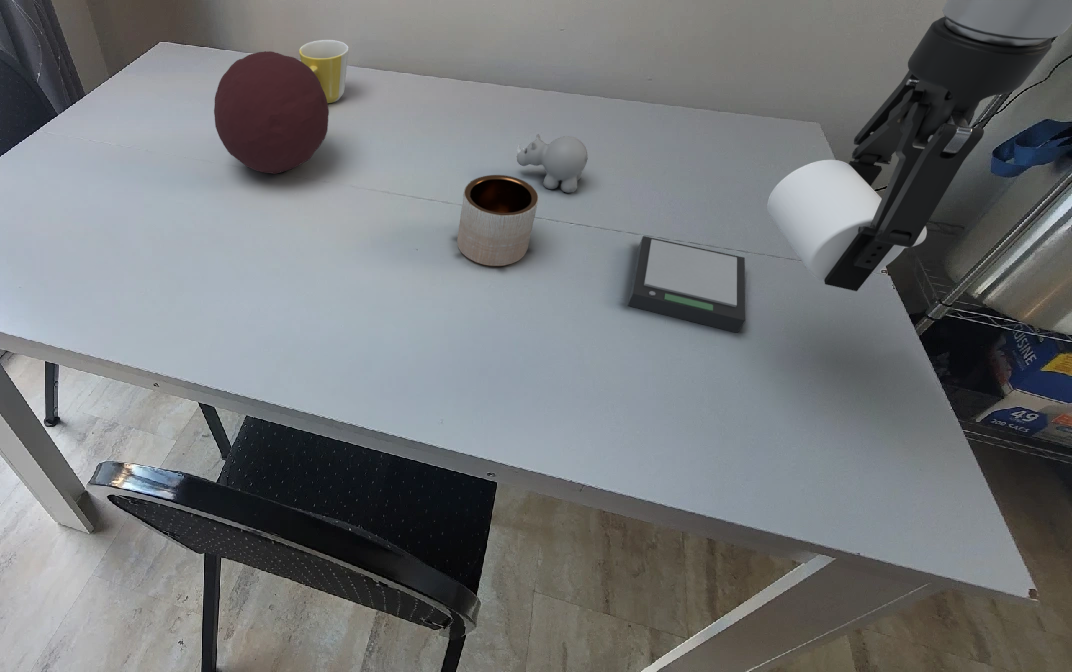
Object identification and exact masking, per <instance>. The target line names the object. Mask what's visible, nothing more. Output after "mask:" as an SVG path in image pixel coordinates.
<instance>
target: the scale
mask: <svg viewBox="0 0 1072 672" xmlns="http://www.w3.org/2000/svg"><path fill="white" fill-rule="evenodd" d="M634 262H635V263H634V268H633V274H632V280H631V285H630V291H629V296H628V301H627V306H628V307H632V308H635V309H639V310H643V311H647V312H652V313H656V314H658V315H659V314H660V315H664V316H668V317H671V318H676V319H680V320H684V321H688V322H691V323H696V324H700V325H704V326H707V327H712V328H715V329H720V330H723V331H728V332H732V333H736V334H737V333H739V332H740V330H741V329H742V327H743V325H744V324H745V322H746V258H745V257H743V256H739V255H735V254H730V253H725V252H720V251H716V250H711V249H706V248H701V247H697V246H694V245H693V246H692V245H688V244H684V243H683V244H682V243H678V242H674V241H669V240H665V239H660V238H656V237H650V236H646V235H643V236H642V237H641V240H640V242H639V245H638V248H637V252H636V258H635V261H634Z"/></svg>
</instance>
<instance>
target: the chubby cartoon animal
mask: <svg viewBox="0 0 1072 672" xmlns="http://www.w3.org/2000/svg"><path fill="white" fill-rule="evenodd" d="M588 155H589V154H588V149H587V146H586V145H585V144H584V142H583V141H582V140H580V139H579V138H577V137H575V136H571V135H564V136H559V137H557V138H555V139H554V140H552V141H551V142H550V143H548V144H547V143H546V142H544V141H543V140H541V136H540V134H539V133H538V134H536V138H535V140H533V141H531V142H530V143H529V144H528V145H527V146H526V148H525V147H522V148H521V144H520V143H519V144H518V145H517V147H516V162H517V163H518V165H520V166H522V167H526V166H529V165H531V166H535V167H538V166H542V167H543V169H544V170H545V172H546V175H545V177H544V179H543V181H542V182H543V183H542V184H543V186H544V187H545V188H546V189H548V190H554V189H557V188H558V187H559V185H560V189H561V191H562V192H565V193H567V194H569V193H574V192H576V190H577V189H578V181H580V180H581V178H582V174H583V171H584V169H585V168H586V166H587V162H588V160H589V156H588ZM560 183H561V184H560Z"/></svg>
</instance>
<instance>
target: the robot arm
mask: <svg viewBox="0 0 1072 672" xmlns="http://www.w3.org/2000/svg"><path fill="white" fill-rule="evenodd" d="M941 11H942V13H943V15H944V16H942V17H940V18H938V19H937V20H934V21H933V22H931V24H930V26H929V27H928V29H927V31H926V32H925V34H924V35H923V37H922V38H921V40H920V41H919V43H918V44H917V46H916V48H915V49H914V50H913V52H912V54H911V55H910V57H909V59H908V60H907V69H908V71H907V73H906V74H905V75H904V77H903V79H902V80H901V81H900V83H899V84H898V86H897V87H896V88H895V89H894V90H893V91H892V93H891V94H890V95H889V96H887V97H888V98H886V100H884V102H883V103H882V104H881V106H879V108H878V109H877V110H876V112H875V113H874V114H873V115H872V116H871V118H869V120H868V121H867V122H866V123H865V124H864V126H863V127H862V128H861V129H860V130H859V131H858V133H857V134H856V135H855V137H854V138H853V145H855V146H856V147H855V148H854V150H853V151H852V153H851V159H853V160H850V161H849V162H848V164H849V165H850V166H851V167H852V168H853V169H854V170H855V171H856V172H857V173H858V174H859V175H860V176H861V177H862V178H863V179H864V180H865V181H866V182H867V184H868V185H869V186H870V187H872V185H873V184H874V182H875V181H876V179H877V178H878V176H879V175H880V174H881V172H882V171H883V167H882V165H888V166H889V165H891V162H892V160H893V159H892V158H893V154H895V156H896V157H897V158H898V161H897V164H896V165H895V167H894V170H893V173H892V174H891V177H890V180H889V182H888V184H887V186H886V188H885V191H884V193H883V195H882V197H881V198H882V200H881V202H880V204H879V206H878V209H877V211H876V213H875V216H874V218H873V220H872V222H871V225H870V227H866V226H863V227H859V228H858V234H857V236H856V237H855V238H854V240H853V241H852V242H851V244H850V245H849V247H848V248H847V249H846V251H845V252H844V253H843V255H842V256H841V257H840V259H839V260H838V261H837V263H836V264H835V266H834V267H833V268H832V270H831V271H830V272H829V274H828V275H827V276H826V278H825V279H824V281H823V282H824V285H826V286H831V287H835V288H839V289H845V290H847V291H848V290H849V291H853V292H858V291H859V290H860V288H861V287H862V285H864V283H865V282H866V281H867V279H868V278H869V277H870V276H871V275H872V274H873V273H872V272H873V271H874V269H875V268H876V267H877V266H878V264H879V263H880V262H881V261H882V259H883V258H884V257H885V256H886V254H887V253H888V252H889V251H890V249H891V248H892V247H893V246H894V245H898V246H904V247H909V249H911V248H913V247H914V246H913V245H914V244H915V242H916V240H917V239H918V237H919V235H920V234H921V232H922V230H923V229H924V227H925V226H927V224H928V222H929V220H930V219H931V217H932V215H933V213H934V212H935V210H936V208H937V207H938V206H939V203H940V202H941V201H942V198H943V197H944V195H945V193H946V192H947V190H948V188H949V187H950V185H951V183H952V182H953V180H954V178H955V177H956V175H957V173H958V171H959V170H960V168H961V166H962V165H963V163H964V161H965V160H966V158H967V157H968V156H969V155H970V154H971V152H972V151H973V150H974V149H975V148H976V146H977V145H978V144H979V143H980V142H981V140H982V139H983V137H984V134H985V129H984V128H981V127H975V126H970V125H971V123H972V121H973V119H974V117H975V112H976V110H977V109H978V107H979V105H980V102H981V101H984V100H985V99H987V98H990V97H994V96H1001V95H1006V94H1009V93H1013V92H1014V91H1016V90H1018V89H1020V87H1021V86H1022V85H1023V84H1024V83H1025V81H1026V80H1027V79H1028V78H1029V77H1030V76H1031V74H1032V73H1033V72H1034V71H1035V69H1036V68H1037V66H1038V65H1040V63H1041V62H1042V60H1043V59H1044V58H1045V57H1046V55H1047V54H1048V53H1049V52H1050V51H1051V50H1052V47H1053V44H1052V39H1051V38H1055V37H1058V36H1062V35H1063V34H1064V33H1065V32H1066V31H1068V29H1069V28H1070V27H1071V26H1072V0H947V1H946V2H945V3H944V5H943V7H942V9H941ZM875 163H877V164H882V165H877V164H875ZM912 246H913V247H912ZM871 273H872V274H871Z"/></svg>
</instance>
